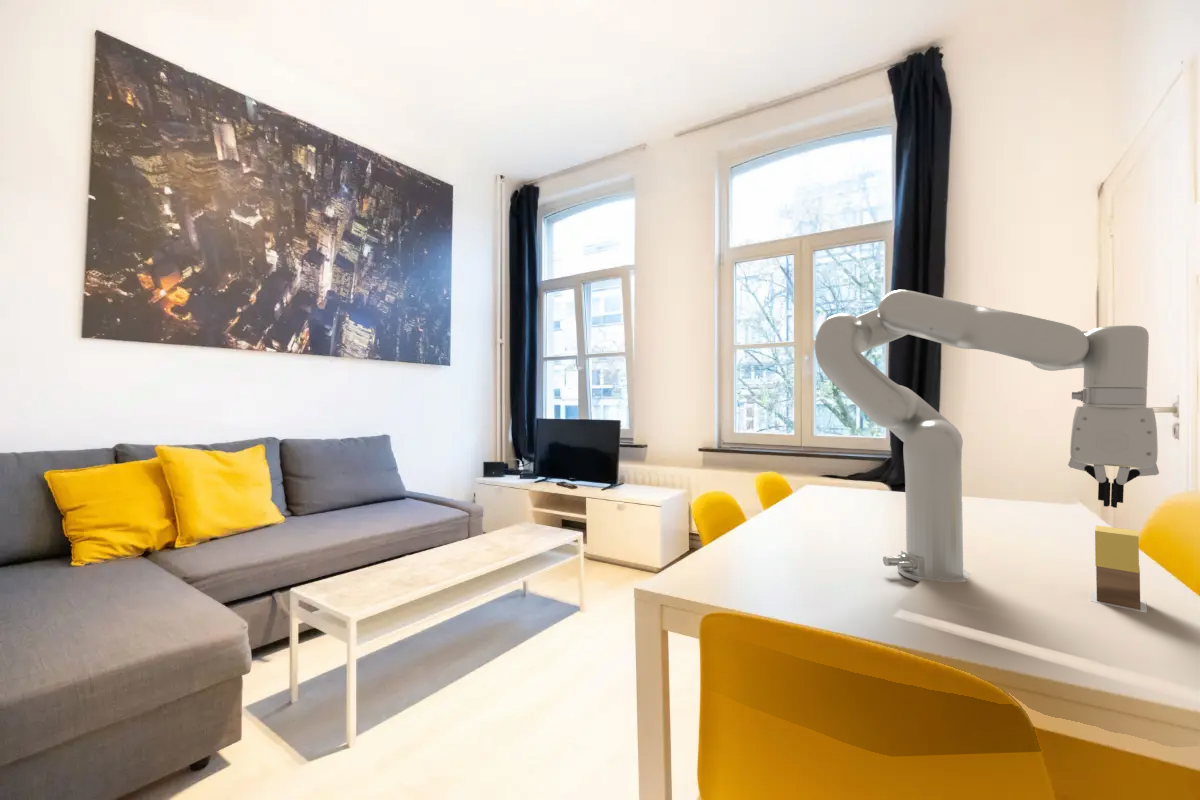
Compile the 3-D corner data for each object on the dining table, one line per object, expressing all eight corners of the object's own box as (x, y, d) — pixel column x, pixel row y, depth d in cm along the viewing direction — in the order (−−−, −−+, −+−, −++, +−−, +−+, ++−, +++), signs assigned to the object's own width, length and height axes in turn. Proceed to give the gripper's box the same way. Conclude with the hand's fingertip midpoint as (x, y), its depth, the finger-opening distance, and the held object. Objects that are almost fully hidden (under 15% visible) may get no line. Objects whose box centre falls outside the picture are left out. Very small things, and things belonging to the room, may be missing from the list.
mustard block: (1139, 573, 80) (1138, 536, 80) (1095, 565, 84) (1095, 530, 84) (1138, 565, 83) (1138, 530, 83) (1096, 559, 87) (1096, 525, 87)
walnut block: (1140, 609, 80) (1139, 573, 80) (1096, 601, 84) (1096, 565, 84) (1139, 601, 83) (1139, 565, 83) (1097, 592, 87) (1097, 559, 87)
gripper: (1052, 398, 87) (1049, 501, 87) (1183, 400, 76) (1179, 518, 76) (1056, 398, 92) (1053, 495, 92) (1179, 400, 81) (1175, 510, 81)
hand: (1110, 505), depth 84 cm, fingers closed
